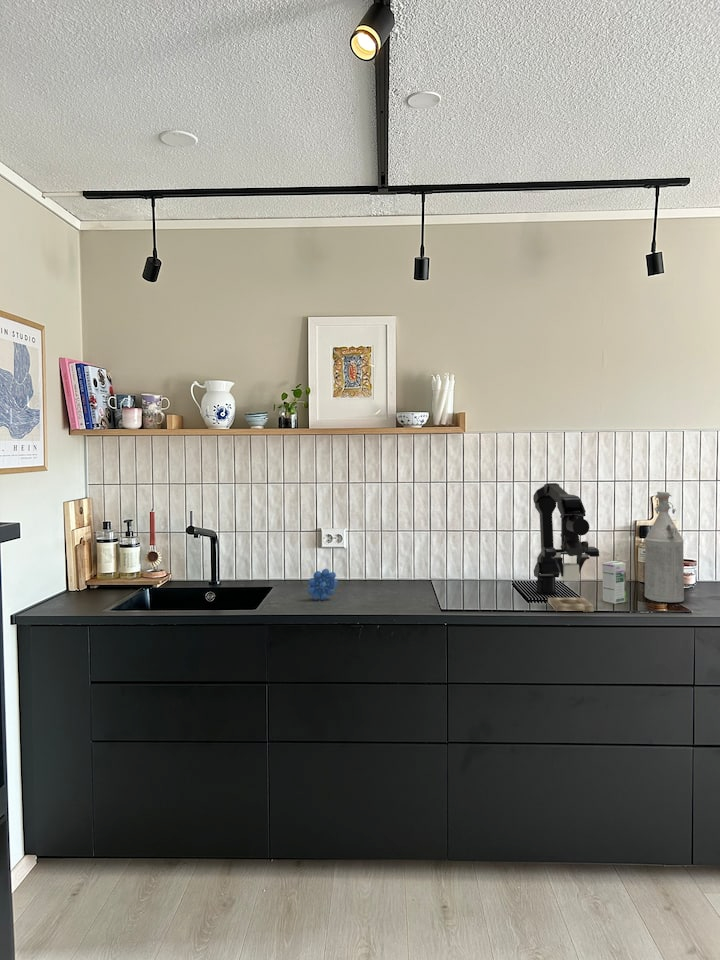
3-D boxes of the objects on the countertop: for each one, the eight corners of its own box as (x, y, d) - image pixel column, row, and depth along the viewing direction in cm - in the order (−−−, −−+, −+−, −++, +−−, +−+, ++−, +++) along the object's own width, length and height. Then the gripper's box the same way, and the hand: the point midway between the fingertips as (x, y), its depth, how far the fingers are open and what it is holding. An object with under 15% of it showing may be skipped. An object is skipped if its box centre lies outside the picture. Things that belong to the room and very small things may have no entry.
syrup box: (615, 604, 226) (615, 563, 225) (602, 601, 231) (602, 561, 231) (626, 602, 229) (626, 562, 228) (613, 599, 234) (613, 560, 233)
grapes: (337, 597, 245) (336, 566, 244) (338, 601, 238) (338, 569, 238) (307, 598, 244) (306, 567, 243) (307, 602, 237) (307, 570, 237)
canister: (654, 604, 224) (654, 493, 223) (638, 594, 242) (638, 490, 240) (692, 604, 223) (692, 492, 222) (673, 594, 240) (673, 490, 239)
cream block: (575, 578, 224) (575, 562, 224) (579, 581, 219) (579, 564, 219) (560, 578, 225) (560, 562, 225) (564, 581, 220) (564, 564, 220)
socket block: (582, 603, 228) (582, 597, 228) (593, 611, 216) (593, 605, 216) (548, 603, 229) (547, 597, 229) (556, 611, 217) (556, 605, 217)
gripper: (548, 535, 214) (548, 580, 215) (604, 534, 213) (604, 580, 214) (540, 531, 225) (540, 574, 226) (594, 530, 224) (594, 574, 225)
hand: (569, 576), depth 222 cm, fingers closed on cream block, 5 cm apart
